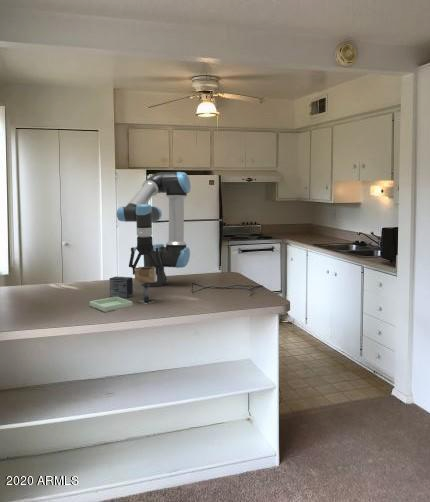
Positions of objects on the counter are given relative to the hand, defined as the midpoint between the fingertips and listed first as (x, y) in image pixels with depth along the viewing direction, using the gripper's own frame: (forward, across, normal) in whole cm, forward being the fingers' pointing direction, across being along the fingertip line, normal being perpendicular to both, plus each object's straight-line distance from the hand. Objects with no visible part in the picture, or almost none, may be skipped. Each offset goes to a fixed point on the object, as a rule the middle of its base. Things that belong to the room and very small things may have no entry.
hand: (146, 281), depth 255 cm
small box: (+11, -16, +11) cm, 22 cm away
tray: (+11, -16, -9) cm, 21 cm away
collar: (0, 0, 0) cm, 0 cm away
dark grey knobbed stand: (+11, 0, 0) cm, 11 cm away
